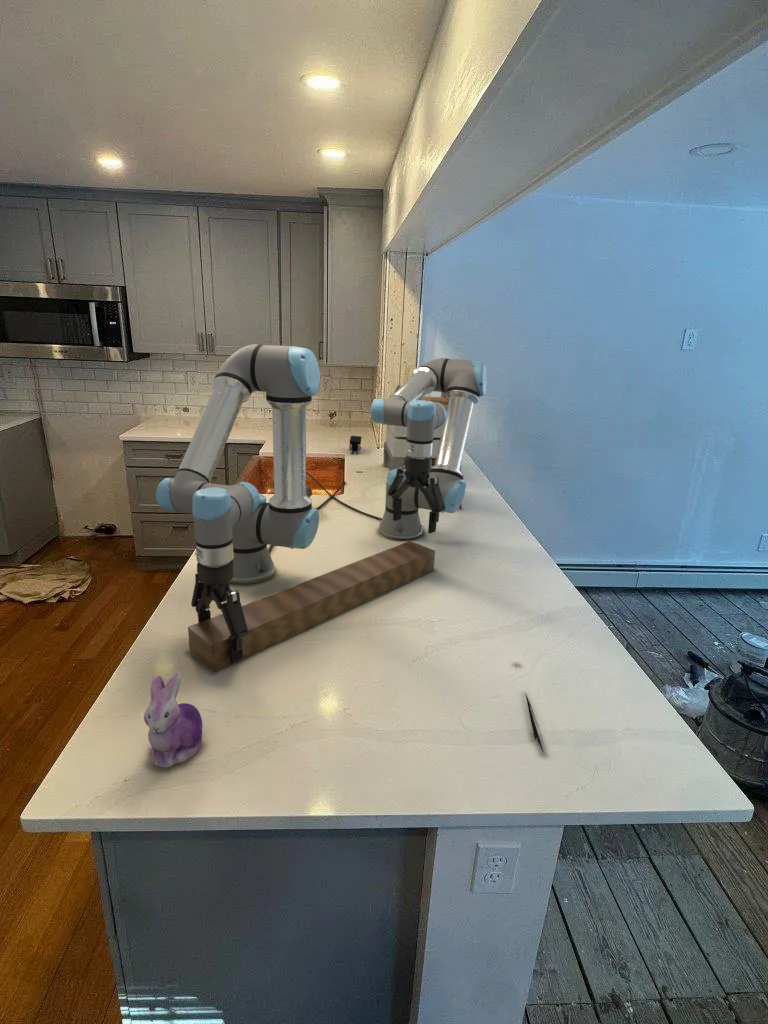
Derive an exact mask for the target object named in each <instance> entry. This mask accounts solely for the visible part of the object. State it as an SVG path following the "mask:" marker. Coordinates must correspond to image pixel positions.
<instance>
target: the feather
mask: <svg viewBox="0 0 768 1024" xmlns="http://www.w3.org/2000/svg"><path fill="white" fill-rule="evenodd" d="M525 697H526V698H525V699H526V703H527V708H528V714H529V719H530V723H531V728H532V733H533V738H534V740H537V742H538V744H539V746H540V749H541V751H542V753H545V751H544V749H543V746H542V741H541V739H543V737H544V736H543V734H541V735H542V736H539V733H542V730H541V729H539V731H538V728H539V727H540V725H539V723H538V721H537V719H536V716H535V713H534V711H533V708H532V705H531V703H530V700H529V697H528V694H527V692H526V691H525ZM536 725H537V726H536ZM540 737H541V739H540ZM544 744H545V743H544ZM544 746H547V745H546V744H545V745H544Z"/></svg>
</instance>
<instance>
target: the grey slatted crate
mask: <svg viewBox="0 0 768 1024" xmlns="http://www.w3.org/2000/svg"><path fill="white" fill-rule="evenodd" d="M401 386H402V385H399V384H398V385H397V386H396V388H395V390H394V392H395V391H397V390H398V389H399V388H400V387H401ZM440 393H441V394H440V396H424V397H423V398H422V399H421V400H426V401H431V402H438V403H440V404H442V405H443V406H444V407H445V409H446V411H447V406H448V402H449V400H448V399H447V397H446V392H440ZM443 425H444V423H443V424H442V425H441V427H439V428H437V429H435V430H434V433H433V448H432V456H430V457H431V459H432V461H431V467H433V466H434V465H435V462H436V457H437V453H438V448H439V443H440V439H441V434H442V429H443ZM406 438H407V427H404V426H394V425H386V428H385V438H384V442H383V466H384V467H388V468H389V472H390V471H391V470H393V469H397V468H402V467H405V457H406V456H407V455H406ZM462 461H463V460H461V463H462ZM460 472H461V473H462V464H461V465H460Z"/></svg>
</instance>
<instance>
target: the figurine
mask: <svg viewBox="0 0 768 1024" xmlns="http://www.w3.org/2000/svg"><path fill="white" fill-rule="evenodd" d="M181 678H182V676H181V673H180V672H176V673H175V674H173V675H172V677H171V678H170V679H169V681H168V682H167V683H166V684H165V682H164V679H163V677H162V676H161V674H156V675H155V676H154V677H153V678H152V680H151V683H150V701H149V703H148V705H147V708H146V709H145V712H144V716H143V720H144V724H146V726H148V728H149V729H148V733H147V738H148V739H147V740H148V742H149V744H150V746H151V749H152V754H151V764H152V765H155V766H157V767H160V768H170V767H172V766H174V765H175V764H180V763H184V762H185V761H187V760H188V759H190V758H191V757H193V756H194V755H195V754H196V753H197V752H198V751H199V750H200V748H201V747H202V740H203V739H202V737H203V719H202V715H201V713H200V711H199V709H198V708H197V707H196V706H195V705H193V704H191V703H186V702H183V703H178V701H177V695H178V692H179V688H180V686H181V680H182V679H181Z"/></svg>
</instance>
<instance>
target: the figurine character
mask: <svg viewBox="0 0 768 1024" xmlns="http://www.w3.org/2000/svg"><path fill="white" fill-rule="evenodd" d="M362 438H363V437H362V435H361V436H360V435H350V438H349V446H348V448H349V449H348V450H349V451H351V455H352V454H354V453H356V455H358V454H359V451H361V450H362V446H361V445H362V444H361V443H362Z"/></svg>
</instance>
